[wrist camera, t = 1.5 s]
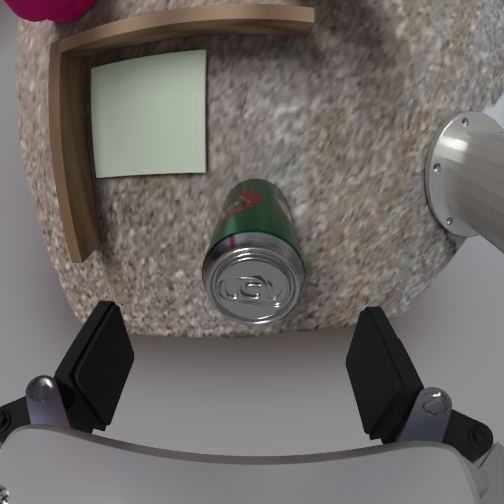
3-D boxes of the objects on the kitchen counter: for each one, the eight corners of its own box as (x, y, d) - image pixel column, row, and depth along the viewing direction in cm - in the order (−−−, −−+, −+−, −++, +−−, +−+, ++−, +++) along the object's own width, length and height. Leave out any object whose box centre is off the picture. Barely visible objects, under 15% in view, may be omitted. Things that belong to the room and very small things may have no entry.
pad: (206, 50, 18) (205, 49, 18) (206, 171, 23) (205, 172, 22) (94, 68, 18) (91, 68, 18) (98, 176, 23) (96, 177, 22)
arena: (305, 24, 17) (313, 7, 13) (294, 247, 25) (300, 270, 22) (76, 48, 17) (50, 43, 13) (92, 243, 26) (72, 262, 22)
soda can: (284, 235, 25) (302, 332, 14) (226, 234, 25) (202, 329, 14) (288, 178, 23) (314, 241, 12) (224, 177, 23) (193, 238, 12)
